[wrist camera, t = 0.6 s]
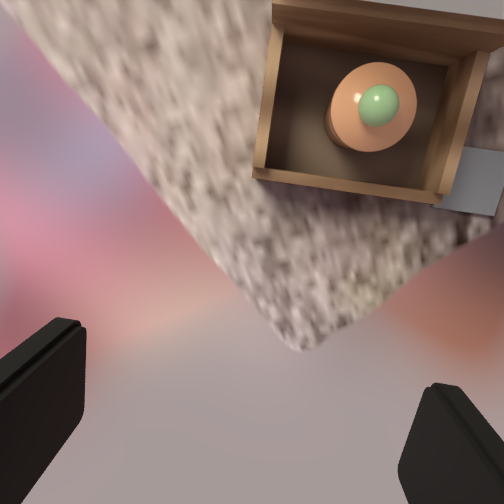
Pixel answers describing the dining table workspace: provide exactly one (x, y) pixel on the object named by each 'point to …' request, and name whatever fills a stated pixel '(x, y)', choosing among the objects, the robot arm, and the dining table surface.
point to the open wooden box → (348, 59)
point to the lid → (455, 6)
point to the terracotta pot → (371, 108)
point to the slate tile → (476, 182)
